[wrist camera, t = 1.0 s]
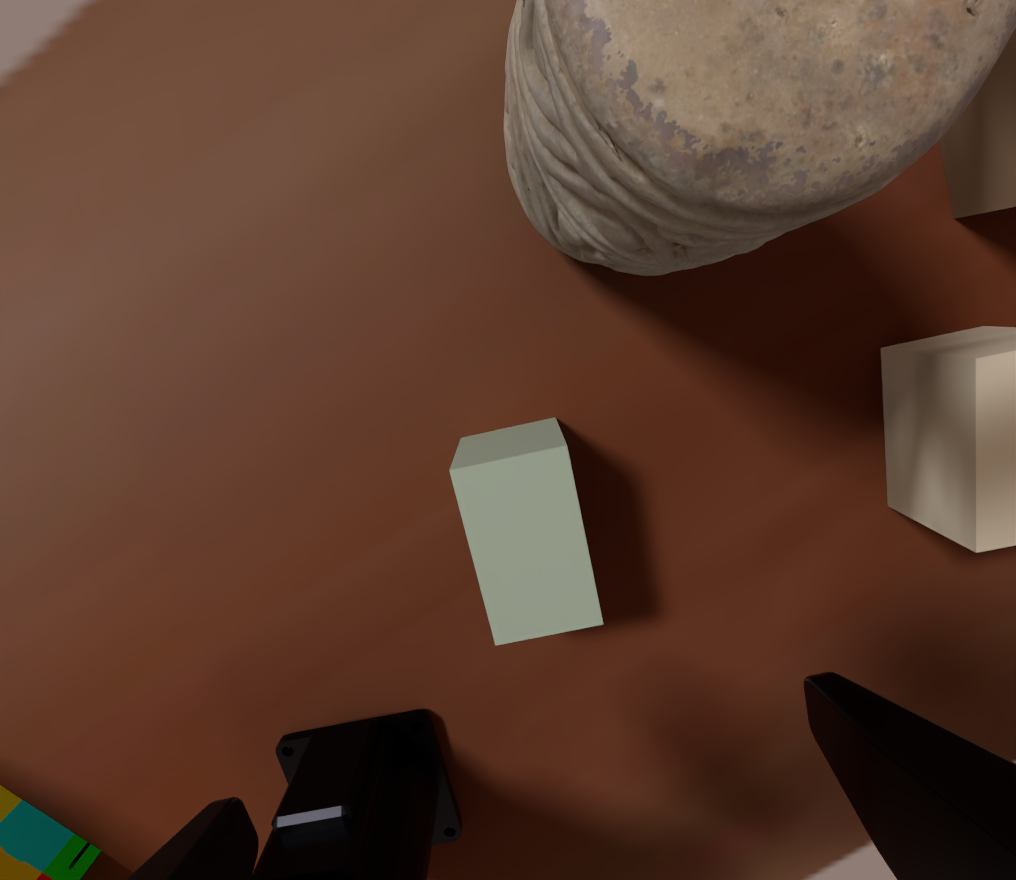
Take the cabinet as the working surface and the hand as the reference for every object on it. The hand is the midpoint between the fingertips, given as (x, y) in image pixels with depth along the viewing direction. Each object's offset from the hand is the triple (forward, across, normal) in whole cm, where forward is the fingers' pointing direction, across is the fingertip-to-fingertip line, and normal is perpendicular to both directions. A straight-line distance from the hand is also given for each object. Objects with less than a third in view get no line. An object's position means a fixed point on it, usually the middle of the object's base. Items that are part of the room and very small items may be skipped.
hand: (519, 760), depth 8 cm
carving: (+12, -6, -10) cm, 17 cm away
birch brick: (+12, -15, +1) cm, 20 cm away
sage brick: (+12, 0, 0) cm, 12 cm away
